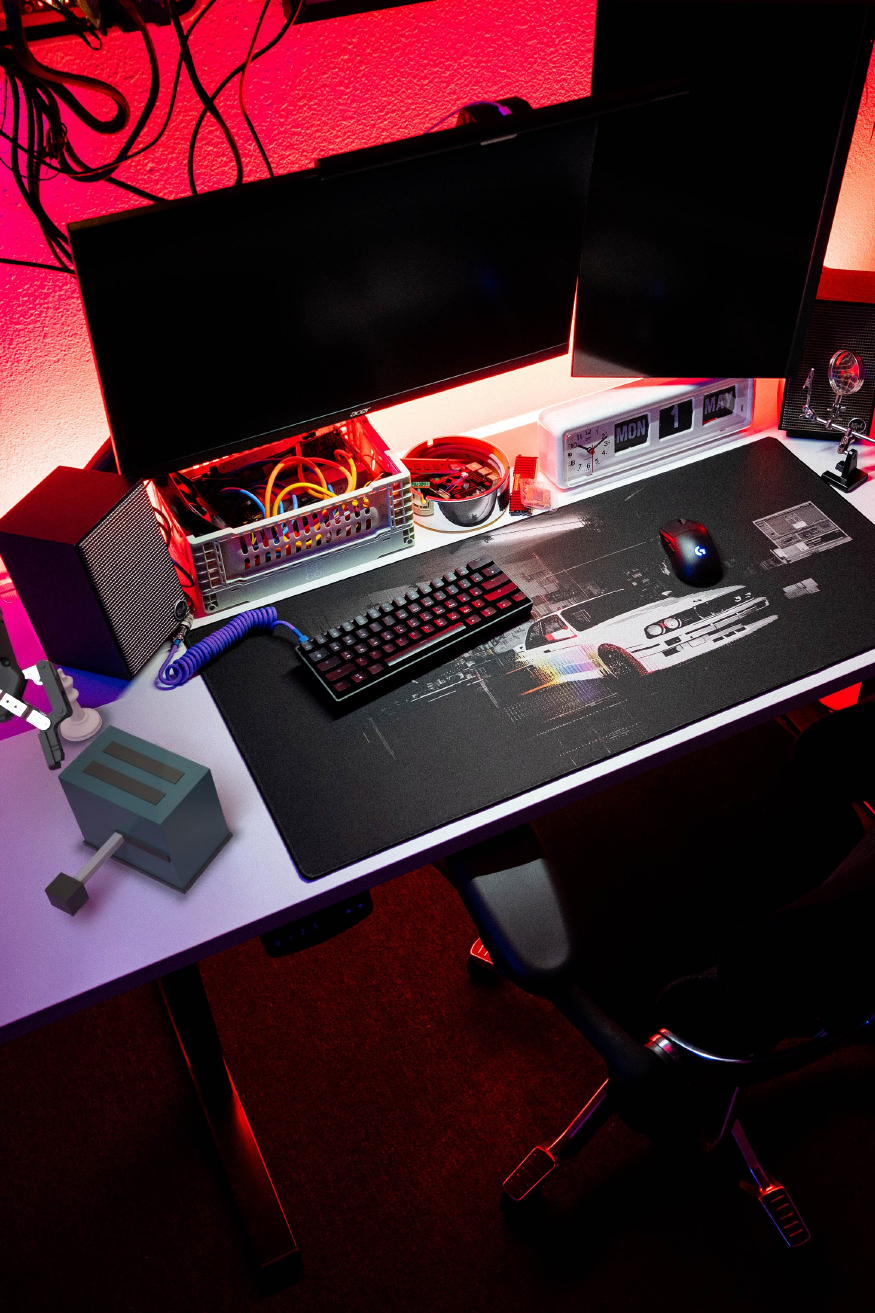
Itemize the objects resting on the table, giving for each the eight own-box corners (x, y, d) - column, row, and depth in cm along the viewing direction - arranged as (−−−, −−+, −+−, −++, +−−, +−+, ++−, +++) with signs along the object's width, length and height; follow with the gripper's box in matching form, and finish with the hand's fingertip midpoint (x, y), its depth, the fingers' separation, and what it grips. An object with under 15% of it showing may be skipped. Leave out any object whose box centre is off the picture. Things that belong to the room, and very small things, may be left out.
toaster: (184, 894, 122) (160, 826, 114) (83, 845, 127) (53, 776, 119) (233, 836, 128) (212, 767, 120) (134, 790, 133) (109, 722, 125)
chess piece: (74, 747, 138) (51, 691, 132) (53, 727, 141) (29, 671, 134) (109, 724, 141) (89, 668, 134) (88, 705, 143) (67, 649, 137)
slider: (73, 917, 115) (66, 901, 113) (51, 905, 116) (43, 890, 114) (133, 849, 121) (127, 833, 119) (112, 839, 122) (105, 823, 120)
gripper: (-130, 649, 106) (-80, 815, 103) (24, 597, 108) (75, 758, 106) (-98, 657, 113) (-50, 812, 111) (45, 608, 116) (94, 758, 113)
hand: (11, 785), depth 108 cm, fingers open, 8 cm apart
